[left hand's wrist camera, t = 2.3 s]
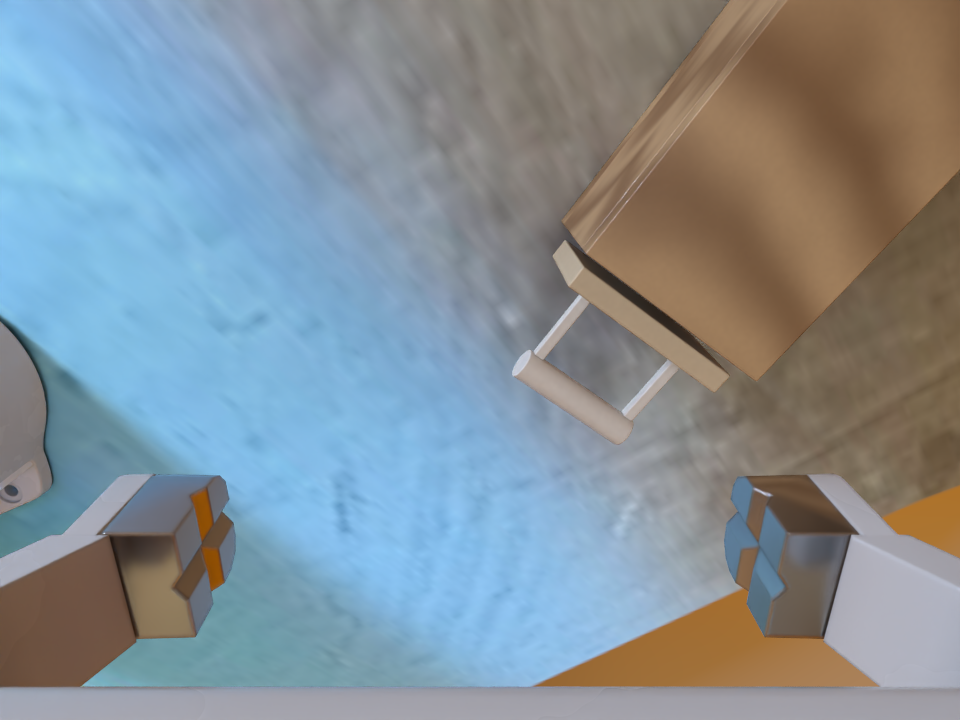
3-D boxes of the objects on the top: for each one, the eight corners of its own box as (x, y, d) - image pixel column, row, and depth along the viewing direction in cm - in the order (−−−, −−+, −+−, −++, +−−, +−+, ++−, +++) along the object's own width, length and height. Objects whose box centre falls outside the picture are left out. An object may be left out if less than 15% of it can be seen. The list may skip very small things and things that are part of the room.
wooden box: (699, 325, 39) (756, 382, 31) (560, 221, 37) (585, 253, 29) (952, 41, 34) (1101, 23, 26) (809, -105, 31) (925, -176, 23)
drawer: (614, 418, 41) (639, 474, 34) (491, 334, 38) (494, 377, 32) (910, 87, 34) (1006, 83, 28) (780, -39, 31) (854, -73, 25)
